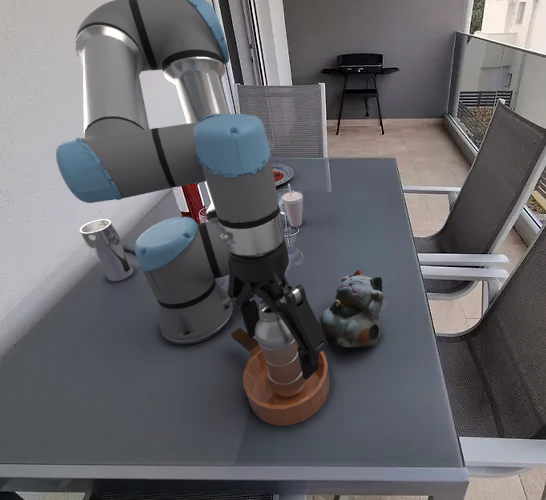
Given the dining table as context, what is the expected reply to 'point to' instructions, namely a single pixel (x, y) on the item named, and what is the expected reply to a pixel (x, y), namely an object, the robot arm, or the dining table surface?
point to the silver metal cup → (107, 248)
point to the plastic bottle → (279, 352)
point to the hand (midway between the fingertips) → (281, 351)
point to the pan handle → (246, 341)
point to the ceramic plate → (281, 173)
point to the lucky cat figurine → (354, 312)
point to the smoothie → (293, 207)
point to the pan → (280, 407)
